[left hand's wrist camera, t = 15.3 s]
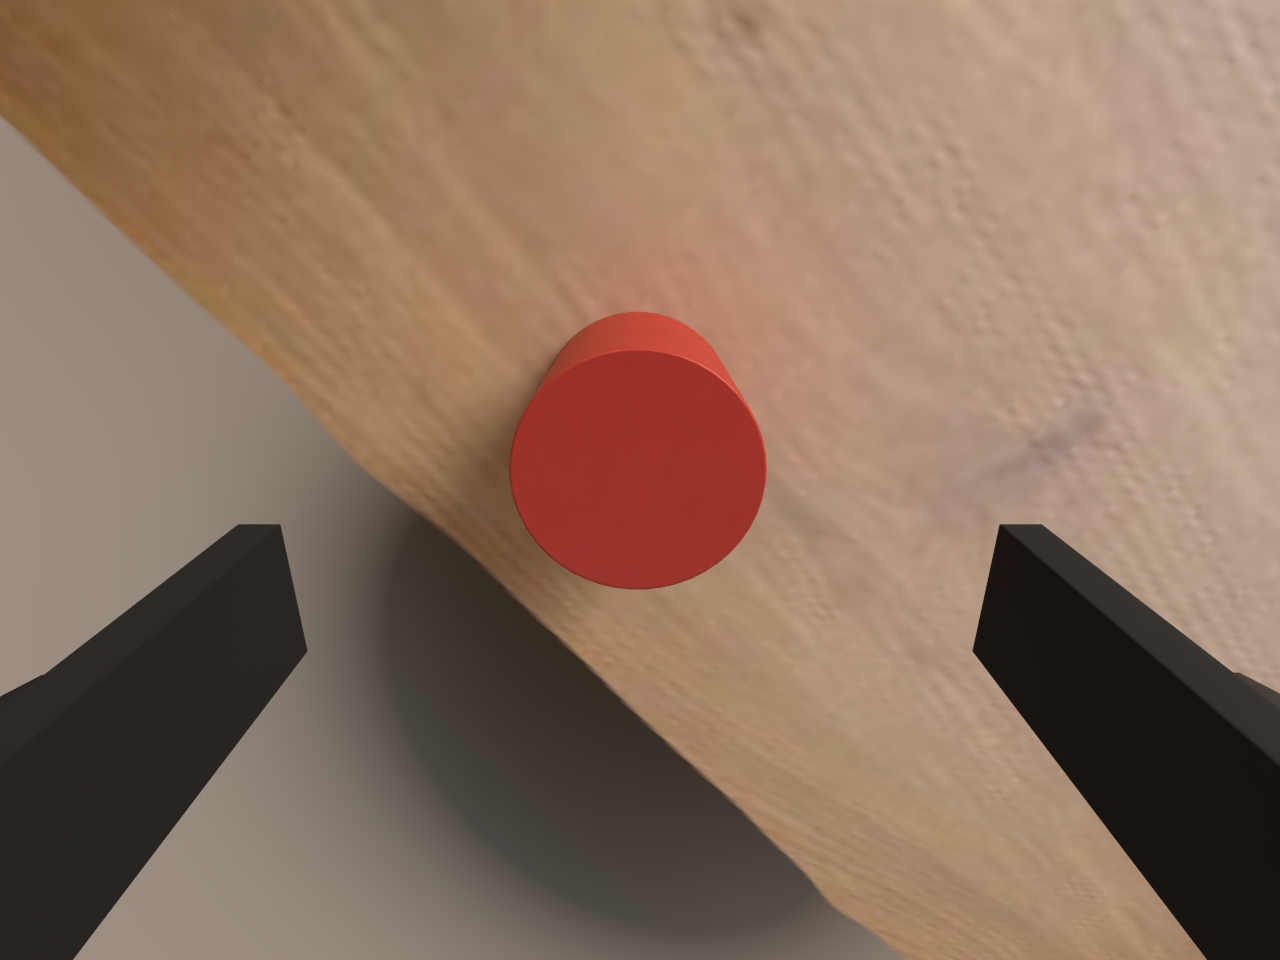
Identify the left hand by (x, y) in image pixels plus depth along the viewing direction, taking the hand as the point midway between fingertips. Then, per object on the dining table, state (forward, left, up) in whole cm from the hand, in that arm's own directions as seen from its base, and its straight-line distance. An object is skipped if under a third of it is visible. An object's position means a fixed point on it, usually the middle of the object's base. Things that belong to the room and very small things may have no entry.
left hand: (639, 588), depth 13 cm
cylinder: (0, 0, -14) cm, 14 cm away
